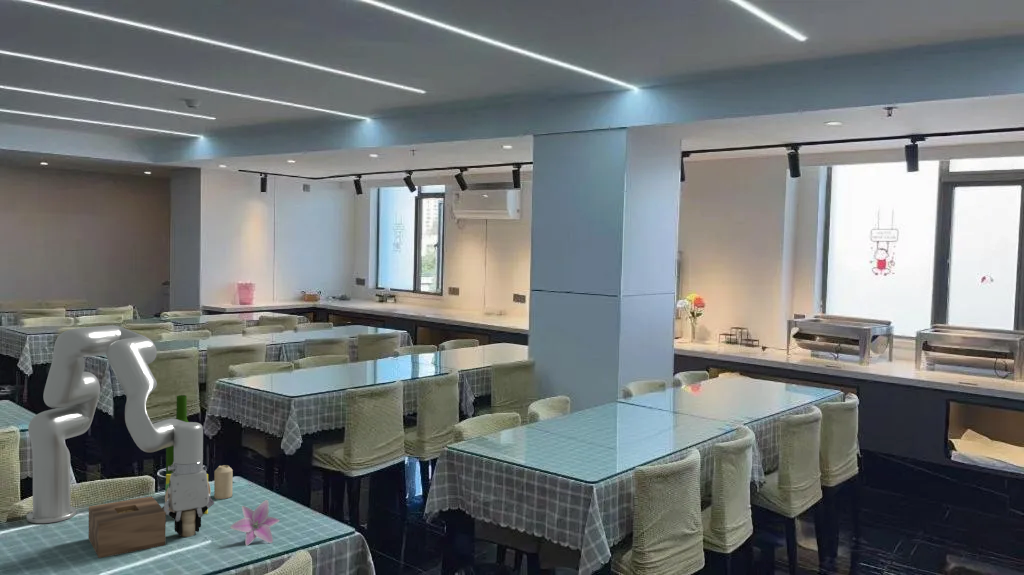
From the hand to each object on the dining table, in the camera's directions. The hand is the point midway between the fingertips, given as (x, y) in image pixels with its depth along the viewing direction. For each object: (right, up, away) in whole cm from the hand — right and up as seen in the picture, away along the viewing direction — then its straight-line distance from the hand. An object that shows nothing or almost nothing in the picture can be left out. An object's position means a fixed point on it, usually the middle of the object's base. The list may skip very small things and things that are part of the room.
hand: (187, 531), depth 214 cm
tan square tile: (-14, +6, -7) cm, 17 cm away
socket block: (-14, -1, -7) cm, 15 cm away
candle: (-3, 0, +33) cm, 33 cm away
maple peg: (0, -1, 0) cm, 1 cm away
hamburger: (-8, 0, +18) cm, 20 cm away
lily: (+20, -2, -3) cm, 20 cm away
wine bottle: (-16, +1, +33) cm, 37 cm away
